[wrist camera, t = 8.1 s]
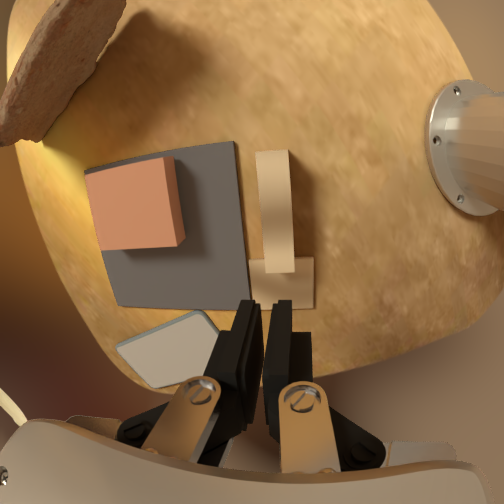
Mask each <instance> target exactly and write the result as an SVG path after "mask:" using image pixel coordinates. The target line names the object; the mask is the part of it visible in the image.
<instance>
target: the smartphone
mask: <svg viewBox="0 0 504 504" xmlns="http://www.w3.org/2000/svg"><path fill="white" fill-rule="evenodd" d="M219 332H220V331H219V330H218V329H217V327H215V325H214V323H213V322H212V321H211V319H210V318H209V317H208V315H207V314H206V313H205V312H204V311H202V310H194V311H192V312H190V313H187V314H185V315H183V316H181V317H178V318H176V319H174V320H171V321H169V322H167V323H165V324H162V325H160V326H158V327H155V328H153V329H151V330H148V331H146V332H144V333H141V334H139V335H137V336H135V337H132V338H130V339H128V340H125V341H123V342H121V343H118V344H117V345H116V351H117V352H118V353H119V355H120V356H121V357H122V358H123V359H124V360H125V361H126V362H127V363H128V364H129V365H130V367H131V368H132V369H133V370H134V371H135V372H136V373H137V374H138V375H139V376H140V377H141V378H142V379H143V380H144V381H145V382H146V383H147V384H148V385H149V386H150V387H152V388H155V389H157V388H161V387H166V386H170V385H174V384H178V383H182V382H184V381H186V380H187V379H189V378H192V377H196V376H203V374H204V371H205V368H206V366H207V363H208V361H209V358H210V355H211V353H212V350H213V348H214V345H215V342H216V340H217V337H218V335H219Z"/></svg>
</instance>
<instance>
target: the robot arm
mask: <svg viewBox="0 0 504 504" xmlns="http://www.w3.org/2000/svg"><path fill="white" fill-rule="evenodd" d="M433 139H434V142H433ZM425 148H426V155H427V160H428V163H429V167H430V170H431V173H432V175H433V178H434V180H435V182H436V184H437V186H438V187H439V189H440V191H441V192H442V194H443V195H444V196H445V197H446V199H447V200H448V201H449V202H450V203H451V204H453V205H454V206H455V207H456V208H458V209H460V210H462V211H463V212H465V213H467V214H471V215H474V216H486V215H490V214H493V213H494V212H496V211H498V210H501V211H503V212H504V92H498V93H494V92H493V91H492V90H491V89H489V88H488V87H487V86H485V85H483V84H481V83H479V82H477V81H472V80H458V81H455V82H451V83H449V84H447V85H446V86H444V87H442V88H441V89H440V90H439V92H438V93H437V94H436V95H435V96H434V98H433V100H432V102H431V104H430V106H429V110H428V113H427V116H426V124H425ZM263 362H264V364H263ZM262 368H263V372H262ZM261 374H262V382H263V393H264V405H265V416H266V424H267V425H269V433H270V435H271V436H272V437H273V438H274V439H275V440H276V441H277V442H278V443H279V448H280V449H279V451H280V473H266V472H253V471H242V470H234V469H227V468H223V466H224V464H225V461H226V459H227V456H228V454H229V451H230V449H231V446H232V444H233V440H234V437H235V436H236V435H238V434H240V433H241V431H242V430H243V431H246V429H247V424H252V423H253V420H254V414H255V408H256V403H257V397H258V391H259V386H260V380H261ZM0 504H495V501H494V497H493V494H492V490H491V487H490V485H489V482H488V480H487V478H486V476H485V474H484V473H483V472H482V470H481V469H480V468H479V467H477V466H476V465H473V464H471V463H467V462H463V461H456V451H455V449H454V448H453V446H452V445H450V444H448V443H446V442H407V441H406V442H405V441H392V442H391V443H382V442H381V441H380V440H379V439H378V438H376V437H375V436H373V435H372V434H370V433H368V432H367V431H365V430H363V429H362V428H361V427H359V426H357V425H356V424H355V423H353V422H352V421H350V420H348V419H347V418H346V417H344V416H343V415H341V414H340V413H338V412H337V411H335V410H334V409H332V408H331V407H330V406H328V402H327V397H326V394H325V392H324V390H323V389H322V388H321V387H320V386H318V385H316V384H315V383H313V375H312V343H311V332H292V300H278V303H273V306H272V313H271V319H270V326H269V333H268V339H267V345H266V352H265V358H264V343H263V330H262V317H261V305H260V303H256V301H255V300H241V301H240V304H239V307H238V310H237V313H236V316H235V319H234V322H233V325H232V328H231V331H226V330H221V331H220V332H219V335H218V337H217V340H216V342H215V345H214V348H213V350H212V353H211V355H210V358H209V361H208V363H207V366H206V368H205V371H204V374H203V376H196V377H192V378H189V379H187V380H186V381H184V382H183V383H182V384H181V385H180V386H179V387H178V389H177V391H176V392H175V394H174V396H173V397H172V399H171V400H170V401H169V402H167V403H165V404H163V405H160V406H158V407H156V408H153V409H151V410H149V411H147V412H144V413H141V414H139V415H136V416H134V417H131V418H129V419H127V420H125V421H124V422H120V420H119V419H106V418H97V417H96V418H95V417H88V416H73V417H70V418H69V419H68V420H67V421H66V422H63V421H59V420H52V419H35V420H30V421H27V422H26V423H24V424H23V425H22V426H20V427H19V428H18V429H17V431H16V432H15V433H14V434H13V435H12V437H11V438H10V439H9V440H8V442H7V443H6V445H5V446H4V448H3V449H2V451H1V452H0Z"/></svg>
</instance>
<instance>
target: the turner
mask: <svg viewBox="0 0 504 504" xmlns="http://www.w3.org/2000/svg"><path fill="white" fill-rule="evenodd" d="M255 155H256V166H257V177H258V188H259V199H260V211H261V222H262V234H263V246H264V258H257V259H249V269H250V279H251V288H252V298H253V300H255V301H256V303H260V305H261V310H272V306H273V303H278V300H292V309H306V308H313V288H314V258H313V256H310V257H294V241H293V220H292V202H291V186H290V171H289V158H288V149H284V150H268V151H258V152H255Z"/></svg>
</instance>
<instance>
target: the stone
mask: <svg viewBox="0 0 504 504" xmlns="http://www.w3.org/2000/svg"><path fill="white" fill-rule="evenodd" d="M125 7H126V0H55V1H54V3H53V4H52V5H51V6H50V7H49V9H48V10H47V11H46V13H45V14H44V16H43V17H42V19H41V21H40V22H39V23H38V25H37V26H36V28H35V30H34V32H33V34H32V35H31V38H30V39H29V41H28V43H27V45H26V48H25V50H24V51H23V53H22V54H21V56H20V58H19V60H18V62H17V64H16V66H15V68H14V71H13V73H12V75H11V77H10V79H9V81H8V84H7V86H6V88H5V91H4V93H3V96H2V98H1V100H0V147H3V146H9V145H12V144H14V143H16V142H18V141H19V140H20V139H24V140H31V141H34V142H35V143H38V142H39V141H41V140H42V139H43V137H44V136H45V134H46V132H47V131H48V129H49V128H50V127H51V126H52V125H53V122H54V121H55V119H56V117H57V116H58V115H59V114H60V113H62V112H63V111H64V109H65V108H66V107H67V105H68V103H69V100H70V99H71V97H72V95H73V94H74V92H75V90H76V88H77V87H78V86H80V85H81V84H83V83H84V82H85V81H86V79H87V78H88V77H89V76H91V75H92V73H93V72H94V71H95V68H96V66H97V63H96V60H97V58H98V56H99V54H100V53H101V52H102V50H103V48H104V47H105V45H106V44H107V42H108V39H109V38H110V37H111V36H112V35H113V33H114V31H115V29H116V25H117V22H118V21H119V19H120V18H121V16H122V13H123V10H124V8H125Z"/></svg>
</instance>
